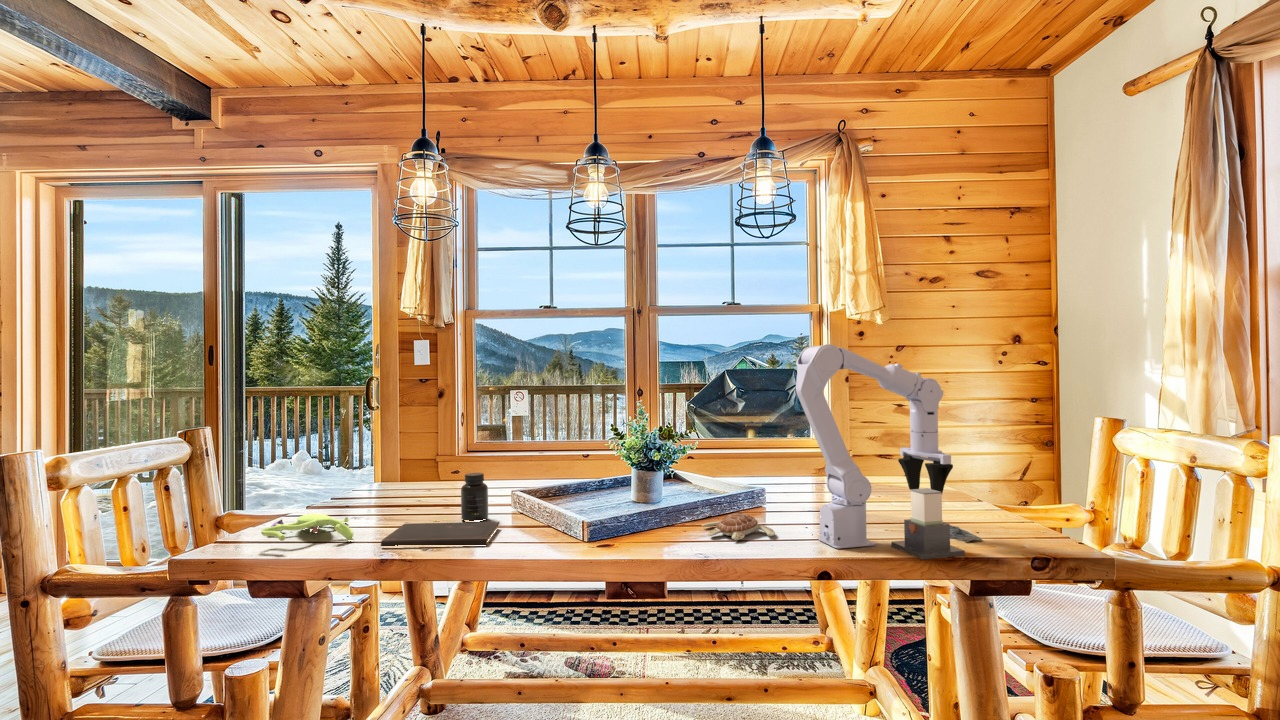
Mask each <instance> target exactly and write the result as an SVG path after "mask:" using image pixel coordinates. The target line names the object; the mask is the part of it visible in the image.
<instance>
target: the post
mask: <svg viewBox="0 0 1280 720" xmlns="http://www.w3.org/2000/svg"><path fill="white" fill-rule="evenodd" d="M942 499H943V493H942V492H940V491H936V490H932V489H931V488H927V487H926V488H919V489H911V490H910V507H911V508H910V515H911V517H910V519H911V521H912V522H915V523H918V524H921V525H924V526H926V525H938V524H943V522H944V520H943V504H942V503H943V502H942V501H943V500H942Z"/></svg>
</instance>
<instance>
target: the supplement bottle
mask: <svg viewBox="0 0 1280 720" xmlns="http://www.w3.org/2000/svg"><path fill="white" fill-rule="evenodd" d="M484 481H485V477H484V473H483V472H471V473H469V472H468V473H465V474H464V482H465V483H464V484H463V485H462V486H461V489H460V503H461V505H460V508H461V509H460V512H461V513H460V515H461V516H460V517H461V520H462V519H463V520H469V521H474V520H483V519H487V518H489V488H488V485H487V484H486V483H484ZM487 520H488V519H487Z"/></svg>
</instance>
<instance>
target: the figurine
mask: <svg viewBox="0 0 1280 720" xmlns="http://www.w3.org/2000/svg"><path fill="white" fill-rule="evenodd" d="M296 520H297V521H296V522H292V523H286V524H285V523H284V522H283V519H280V520H278V521H276V522H274V523H272V524H271V526H269V527H265V528H263V529H261V532H260V534H261V535H262V536H264V537H275V538H277V539H278V540H279V541H281V542H282V541H285V539H286V536H285V534H283V533H282V532H283V531H300V530H302V529H305V528H308V530H309V529H313V531H312V533H313V534H314V533H315V532H318V533H319V528H318V529H317V527H318V526H320V527H323V526H328V525H329V526H332V527H333V526H334V528H333V529H334V531H336V532H337V533H338V534H339V535H341V536H342V537H344V538H345V539H346V540H347V541H348V540H354V538H353V537H354V531H353V530H352V528H350V527H349V525H347V524H344V523H342V522H340V521H343V522H348V523H349V518H348V517H345V518H344V520H342V519H337V518H333V517H332V516H329V515H327V514H324V513H323V514H322V513H308V514H303V515H301V516H299V517H298V518H297V519H296ZM278 531H281V532H278Z"/></svg>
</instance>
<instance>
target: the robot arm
mask: <svg viewBox="0 0 1280 720" xmlns="http://www.w3.org/2000/svg"><path fill="white" fill-rule="evenodd" d="M795 365H796V368H797V372H796V381H795V382H796V383H795V393H796V395H797V398H798V400H799V402H800V405H801V407H802V410H803V412H804V414H805V417H806V419H807V421H808V423H809V426H810V429H811V431H812V433H813V435H814V437H815V440H816V442H817V445H818V447H819V450H820V452H821V454H822V457H823V459H824V462H825V467H824V473H825V475H826V487H827V490H828V491H829V493H830V494H831V501H830V502H828V503H824V504H823V505H821V507H820V510H819V537H818V538H817V539H818V541H820V542H822V543H824V544H826V545H828V546H830V547H833V548H835V549H849V548H851V549H852V548H859V547H872V546H876V542H874V541H871V540H869V539H868V537H867V535H868V534H867V533H868V532H867V501H868V500H869V499H870V497H871V494H872V484H871V481H870V480H869V478H867V477H866V476H865V475H863V473H862V471H861V469H860V467H859V466H858V465H857V463H856V462H854V460H853V459H852V457H851V456H850V453H849V451H848V448H847V445H846V444H845V442H844V440H843V436H842V435H841V432H840V430H839V427H838V426H837V425H838V424H837V423H836V421H835V418H834V415H833V413H832V411H831V409H830V406H829V404H828V401H827V400H826V397H825V394H824V390H825V387H826V385H827V383H828V382H829V380H830V379H832V377H833V376H835V374H836V373H838V371H839V370H850V371H852V372H854V373H857V374H859V375H863V376H866V377H868V378H871V379H874V380H876V381H877V383H878V385H879V387H880V388H882V389H883V390H886V391H889V392H892V393H894V394H895V395H898V396H901V397H903V398H905V399H906V401H908V402H909V425H910V427H909V429H910V430H909V433H910V439H909V440H910V447H907V446H905V447H899V448H900V449H899V453H900V457H901V458H900V457H899V458H898V460H897V461H898V464H899V465H900V467H901V468H902V470H903V473H904V476H905V478H906V483H907V486H908V490H910V491H911V489H920V485H921V472H922V468H923V464H924V466H925V468H926V471H927V474H928V479H929V486H930V489H932V490H936V491H940V492H942V494H943V492H944V488H945V484H946V482H947V479H948V476H949V474H950V473H951V471H952V470H953V468H954V465H953V464H952V455H951V454H948V453H944V452H943V451H942V450H939V417H938V416H939V411H938V410H939V409H940V407H939V403H940V402H941V400H942V398H943V396H944V390H943V389H942V387H941V385H940V383H939V382H938V381H937V380H936V379H934V378H928V377H922V374H921V373H920V372H913V371H910V370H907V369H905V368H903V366H904V365H903V364H900V363H893V364H892V363H889V364H887V365H885V366H883V365H881V364H879V363H878V362H877V363H876V362H874V361H872V360H870V359H868V358H866V357H863V356H862V355H860V354H857V353H855V352H854V351H851V350H849V349H846V348H844V347H838V346H837V345H834V344H829V343H827V344H822V345H810V346H809V345H808V346H807V347H805V348H803V350H802V351H801V352H800V354H799V356H798V358H797V359H796V362H795ZM924 461H928V462H926V463H924Z"/></svg>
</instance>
